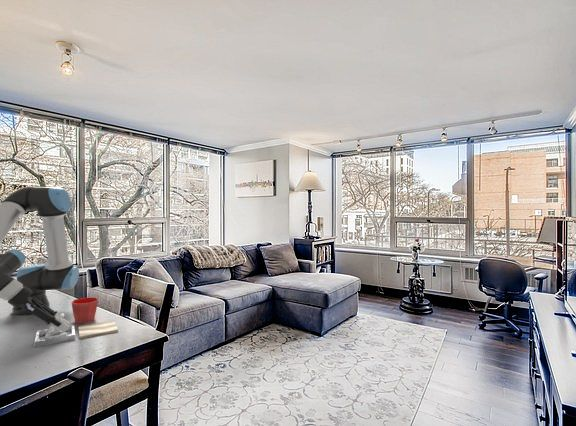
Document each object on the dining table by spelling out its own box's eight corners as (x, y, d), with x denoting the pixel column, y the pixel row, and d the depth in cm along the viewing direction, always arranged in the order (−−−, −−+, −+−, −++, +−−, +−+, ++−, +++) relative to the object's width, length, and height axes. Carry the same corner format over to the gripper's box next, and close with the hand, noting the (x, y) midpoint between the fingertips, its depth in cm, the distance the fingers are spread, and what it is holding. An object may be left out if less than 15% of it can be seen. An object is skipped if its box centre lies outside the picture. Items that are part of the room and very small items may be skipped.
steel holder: (36, 335, 133) (36, 330, 133) (74, 329, 140) (74, 324, 140) (34, 346, 122) (34, 341, 122) (75, 339, 130) (75, 334, 130)
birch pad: (78, 328, 142) (78, 326, 142) (113, 322, 150) (113, 320, 150) (79, 338, 130) (79, 336, 130) (118, 331, 138) (118, 329, 138)
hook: (70, 327, 128) (53, 319, 126) (54, 350, 129) (38, 342, 128) (80, 317, 135) (64, 309, 134) (65, 339, 136) (49, 331, 135)
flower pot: (103, 318, 155) (103, 298, 155) (82, 325, 145) (82, 304, 145) (87, 315, 159) (87, 296, 158) (65, 322, 148) (65, 302, 148)
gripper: (9, 296, 129) (59, 328, 139) (2, 306, 115) (58, 342, 125) (26, 281, 132) (74, 314, 142) (21, 290, 118) (75, 326, 128)
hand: (66, 327), depth 133 cm, fingers closed on hook, 4 cm apart
